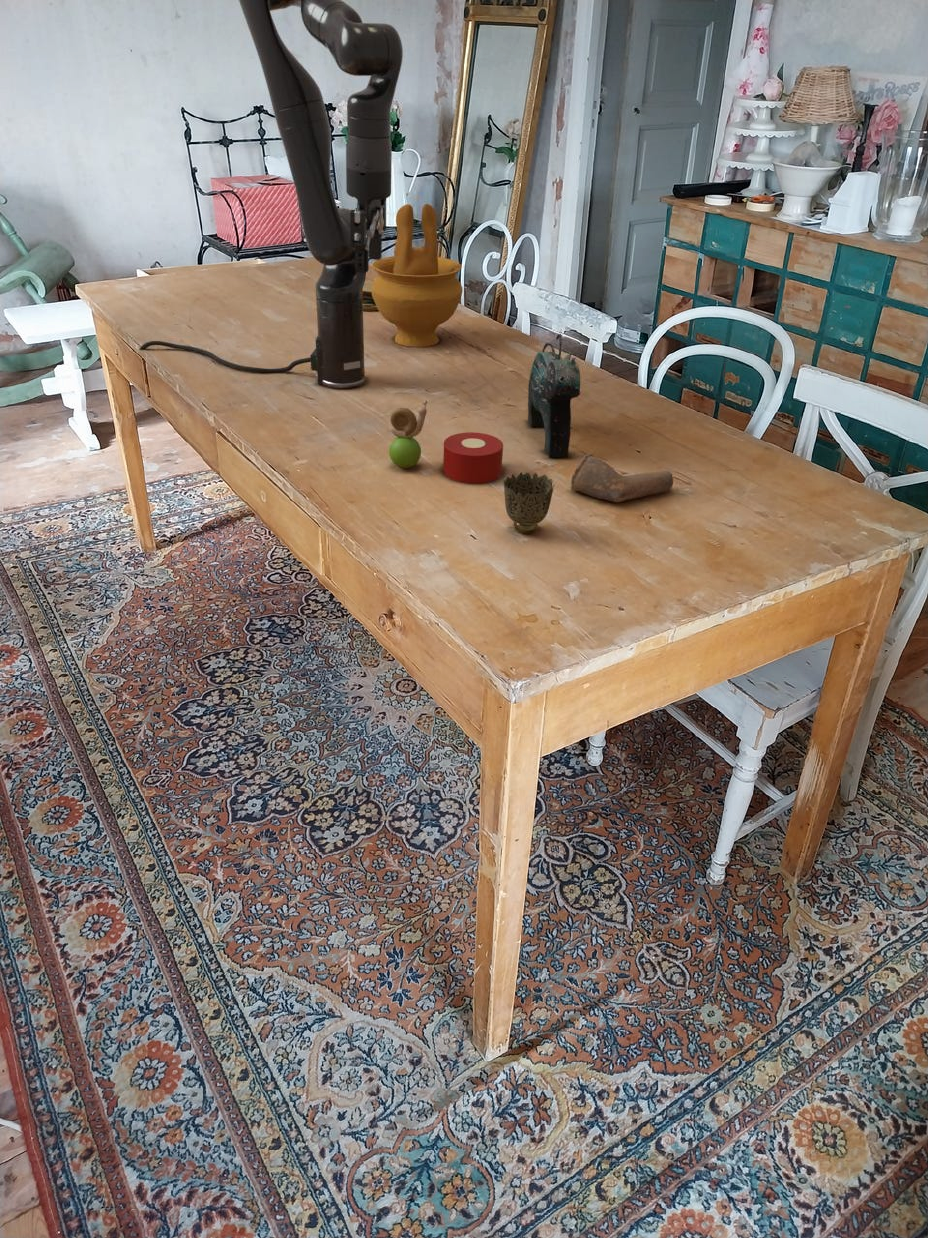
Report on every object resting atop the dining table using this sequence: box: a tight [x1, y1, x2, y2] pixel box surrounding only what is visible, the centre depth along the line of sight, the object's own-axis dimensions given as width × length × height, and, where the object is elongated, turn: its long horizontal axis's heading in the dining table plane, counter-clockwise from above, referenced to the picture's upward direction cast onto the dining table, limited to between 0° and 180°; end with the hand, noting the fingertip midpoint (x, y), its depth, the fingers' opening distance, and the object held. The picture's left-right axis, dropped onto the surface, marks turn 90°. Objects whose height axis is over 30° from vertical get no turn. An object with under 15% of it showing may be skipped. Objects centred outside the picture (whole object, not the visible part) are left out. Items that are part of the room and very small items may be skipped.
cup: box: [503, 471, 555, 535], centre depth 140 cm, size 8×7×8 cm
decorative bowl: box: [371, 203, 463, 348], centre depth 213 cm, size 21×21×30 cm
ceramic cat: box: [527, 333, 581, 459], centre depth 167 cm, size 20×6×20 cm, turn 9°
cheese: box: [442, 431, 504, 484], centre depth 158 cm, size 10×10×5 cm
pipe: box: [570, 453, 674, 503], centre depth 153 cm, size 6×17×10 cm
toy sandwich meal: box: [363, 279, 379, 312], centre depth 244 cm, size 12×14×5 cm
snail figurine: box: [388, 400, 428, 469], centre depth 157 cm, size 5×6×12 cm
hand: (368, 265), depth 165 cm, fingers open, 8 cm apart
